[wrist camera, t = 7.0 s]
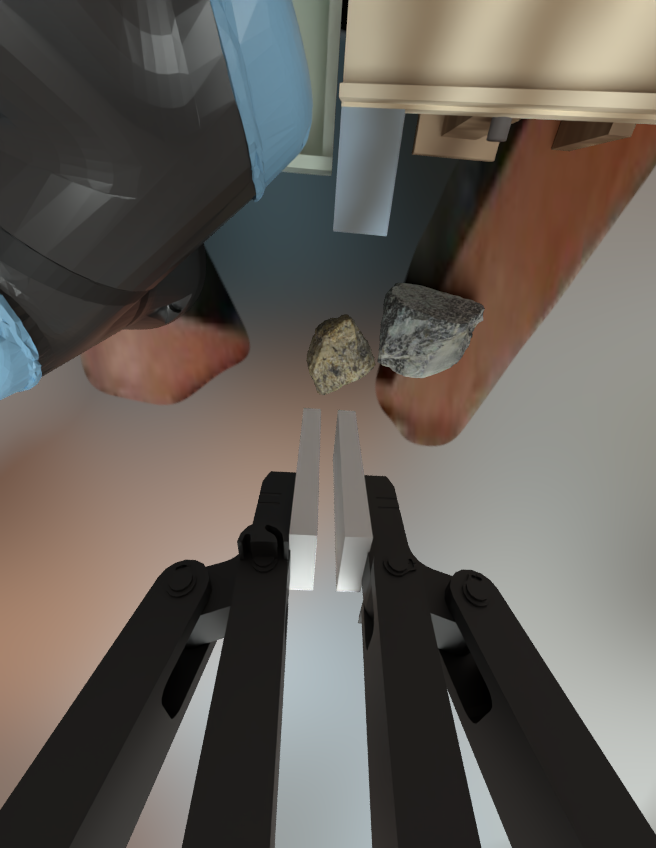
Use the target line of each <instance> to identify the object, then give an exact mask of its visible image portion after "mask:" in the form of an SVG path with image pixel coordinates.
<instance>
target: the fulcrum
mask: <svg viewBox="0 0 656 848" xmlns="http://www.w3.org/2000/svg"><path fill="white" fill-rule="evenodd" d="M491 120H492V117H481V116H458V115H436V114H418V121H417V126H416V133H415V138H414V144H413V151H412V154H413V155H423V156H433V157H445V158H455V159H465V160H476V161H487V162H491V161H494V159H495V156H496V152H497V149H498V145H499V142H490V141H487V140H486V139H487V135H488V131H489V127H490V123H491ZM519 120H520V118H512V121H511V124H512V123H515V122H517V121H519ZM635 126H636V123H614V122H592V121H570V120H561V123H560V126H559V129H558V132H557V135H556V138H555V140H554V143H553V146H552V149H553V150H563V151H572V150H576V149H580V148H584V147H589V146H593V145H597V144H602V143H606V142H610V141H614V140H619V139H623V138H627V137H631V135H632V132H633V130H634V128H635Z"/></svg>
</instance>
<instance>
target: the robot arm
mask: <svg viewBox="0 0 656 848" xmlns="http://www.w3.org/2000/svg"><path fill="white" fill-rule="evenodd" d="M312 108H313V97H312V88H311V81H310V74H309V69H308V63H307V59H306V54H305V50H304V45H303V41H302V37H301V33H300V29H299V24H298V21H297V17H296V13H295V9H294V5H293V2H292V0H0V400H1V399H3V398H5V397H7V396H9V395H12V394H14V393H16V392H20V391H24V390H29V389H31V388H32V387H34V386H35V385H37V383H38V382H39V380H40V378H41V377H42V376H44V375H46V374H47V373H49V372H51V371H53V370H54V369H56V368H58V367H59V366H61V365H63V364H65V363H66V362H68V361H70V360H71V359H73V358H75V357H76V356H78V355H80V354H82V353H83V352H85V351H87V350H88V349H90V348H92V347H93V346H95V345H97V344H99V343H100V342H102V341H104V340H105V339H107V338H109V337H110V336H112V335H114V334H116V333H117V332H119V331H121V330H122V329H153V328H158V327H161V326H164V325H167V324H169V323H171V322H173V321H175V320H176V319H178V318H179V317H180V316H182V315H183V314H184V313H186V312H187V311H188V310H189V309H190V308H191V307H192V306H193V305H194V303H195V302H196V301H197V299H198V297H199V295H200V293H201V291H202V288H203V285H204V281H205V275H206V254H205V248H204V242H205V241H206V240H207V239H208V238H209V237H210V236H212V235H213V234H214V233H215V232H216V231H217V230H218V229H219V228H220V227H221V226H223V225H224V224H225V223H226V222H227V221H228V220H229V219H230V218H232V217H233V216H234V215H235V214H236V213H237V212H238V211H239V210H240V209H242V208H243V207H244V206H245V205H246V204H247V203H248V202H249V201H250V200H251V199H253V201H254V202H257V201H258V200H260V199H261V197H262V196H263V194H264V190H265V187H266V186H267V185H268V184H269V183H270V182H271V181H272V180H273V179H274V178H275V177H276V176H277V175H278V174H279V173H280V172H282V171H283V170H284V169H285V168H286V167H287V166H288V165H289V164H290V163H291V162H292V161H293V160H294V159H295V158H296V157H297V156H298V154H299V153H300V152H301V151H302V149H303V147H304V146H305V144H306V142H307V140H308V136H309V132H310V127H311V123H312ZM320 427H321V409H311V408H304V411H303V419H302V428H301V436H300V445H299V454H298V463H297V472H296V473H293V472H291V473H290V472H273V471H271V472H270V473H269V474H268V475H267V477H266V478H265V479H264V480H263V482H262V486H261V491H260V495H259V499H258V504H257V508H256V512H255V516H254V521H253V524H252V525H250V526H248V527H247V528H246V529H245V530H244V531H243V532H242V533H241V534H240V536H239V538H238V541H237V543H238V550H239V554H238V555H237V556H236V557H234V558H232V559H231V560H228V561H225V562H222V563H219V564H215V565H211V566H207V567H205V566H204V564H203V563H200V562H198V561H196V560H184V561H180V562H177V563H175V564H173V565H171V566H170V567H168V568H167V569H165V570H164V571H163V573H162V574H161V575H160V576H159V577H158V578H157V580H156V581H155V583H154V584H153V586H152V587H151V589H150V590H149V591H148V593H147V594H146V596H145V597H144V599H143V600H142V602H141V603H140V605H139V606H138V608H137V609H136V611H135V612H134V614H133V615H132V617H131V618H130V619H129V621H128V623H127V624H126V626H125V627H124V628H123V630H122V631H121V633H120V634H119V636H118V637H117V639H116V640H115V642H114V643H113V645H112V646H111V648H110V649H109V650H108V652H107V654H106V655H105V656H104V658H103V659H102V661H101V662H100V664H99V665H98V667H97V668H96V670H95V671H94V673H93V674H92V676H91V677H90V678H89V680H88V682H87V683H86V684H85V686H84V687H83V689H82V690H81V692H80V693H79V695H78V696H77V698H76V699H75V701H74V702H73V704H72V705H71V706H70V708H69V709H68V711H67V713H66V714H65V715H64V717H63V719H62V720H61V721H60V723H59V724H58V726H57V727H56V729H55V730H54V732H53V733H52V734H51V736H50V738H49V739H48V741H47V742H46V743H45V745H44V746H43V748H42V749H41V751H40V752H39V754H38V755H37V757H36V758H35V760H34V761H33V763H32V764H31V765H30V767H29V768H28V770H27V771H26V773H25V774H24V776H23V777H22V779H21V780H20V782H19V783H18V785H17V786H16V788H15V789H14V791H13V792H12V793H11V795H10V796H9V798H8V799H7V801H6V803H5V804H4V805H3V807H2V808H1V810H0V848H126V846H127V844H128V842H129V840H130V837H131V835H132V833H133V830H134V828H135V826H136V824H137V821H138V819H139V817H140V814H141V812H142V810H143V808H144V805H145V803H146V801H147V798H148V796H149V794H150V792H151V789H152V787H153V785H154V783H155V780H156V778H157V776H158V774H159V771H160V769H161V767H162V764H163V762H164V760H165V758H166V755H167V753H168V751H169V749H170V746H171V744H172V742H173V739H174V737H175V735H176V733H177V730H178V728H179V726H180V723H181V721H182V719H183V717H184V714H185V712H186V710H187V708H188V705H189V703H190V701H191V698H192V696H193V694H194V692H195V689H196V687H197V685H198V682H199V680H200V678H201V676H202V673H203V671H204V669H205V667H206V664H207V662H208V660H209V657H210V655H211V653H212V650H213V648H214V646H215V644H216V642H217V640H218V639H221V638H224V641H223V646H222V651H221V656H220V661H219V666H218V671H217V676H216V681H215V686H214V691H213V696H212V701H211V705H210V710H209V715H208V720H207V726H206V730H205V735H204V740H203V745H202V750H201V755H200V760H199V765H198V770H197V775H196V780H195V785H194V790H193V795H192V800H191V805H190V810H189V815H188V820H187V825H186V829H185V835H184V840H183V844H182V848H275V830H276V812H277V795H278V777H279V760H280V742H281V725H282V706H283V688H284V672H285V655H286V637H287V619H288V596H289V590H291V589H292V590H313V581H314V570H315V558H316V545H317V531H318V529H317V528H318V497H319V496H318V495H319V462H320V461H319V460H320ZM333 472H334V511H335V512H334V513H335V550H336V551H335V553H336V591H345V592H360V591H361V586H362V590H363V603H362V607H361V611H360V615H359V621H358V623H362V636H363V659H364V677H365V678H364V681H365V702H366V723H367V745H368V766H369V788H370V810H371V830H372V848H481V844H480V839H479V835H478V830H477V825H476V821H475V816H474V812H473V807H472V802H471V798H470V793H469V789H468V784H467V779H466V775H465V770H464V766H463V761H462V756H461V752H460V747H459V742H458V739H457V733H456V729H455V724H454V720H453V715H452V710H451V706H450V701H449V696H448V692H449V694H450V697H451V699H452V702H453V704H454V706H455V709H456V712H457V714H458V716H459V719H460V721H461V724H462V726H463V729H464V731H465V733H466V736H467V738H468V741H469V743H470V746H471V748H472V751H473V753H474V756H475V758H476V760H477V763H478V765H479V768H480V770H481V773H482V775H483V778H484V780H485V783H486V785H487V787H488V790H489V792H490V795H491V797H492V799H493V802H494V805H495V807H496V809H497V812H498V814H499V817H500V819H501V821H502V824H503V827H504V829H505V832H506V834H507V836H508V839H509V841H510V844H511V846H512V848H656V834H655V833H654V831H653V830H652V828H651V827H650V825H649V823H648V822H647V820H646V819H645V817H644V816H643V814H642V813H641V811H640V810H639V808H638V806H637V805H636V803H635V802H634V800H633V799H632V797H631V795H630V794H629V792H628V791H627V789H626V788H625V786H624V785H623V783H622V782H621V780H620V778H619V777H618V775H617V774H616V772H615V771H614V769H613V767H612V766H611V764H610V763H609V762H608V760H607V759H606V757H605V755H604V754H603V752H602V750H601V749H600V747H599V746H598V744H597V743H596V741H595V740H594V738H593V737H592V735H591V733H590V732H589V731H588V729H587V727H586V726H585V724H584V723H583V721H582V719H581V718H580V717H579V715H578V713H577V712H576V710H575V708H574V707H573V705H572V704H571V702H570V701H569V699H568V698H567V696H566V694H565V693H564V691H563V690H562V688H561V687H560V685H559V684H558V682H557V680H556V679H555V678H554V676H553V674H552V673H551V671H550V670H549V668H548V667H547V665H546V663H545V662H544V661H543V659H542V657H541V656H540V654H539V652H538V651H537V649H536V648H535V646H534V645H533V643H532V642H531V640H530V639H529V637H528V636H527V634H526V632H525V631H524V629H523V628H522V626H521V625H520V623H519V621H518V620H517V618H516V617H515V615H514V614H513V612H512V611H511V609H510V608H509V606H508V604H507V603H506V601H505V600H504V598H503V597H502V595H501V593H500V592H499V590H498V589H497V588H496V587H495V585H494V584H493V583H492V582H491V581H490V580H489V579H488V578H486V577H485V576H484V575H482V574H481V573H478V572H475V571H473V570H460V571H458V572H456V573H455V574H454V575H453V576H450V575H448V574H445V573H442V572H439V571H436V570H433V569H431V568H429V567H427V566H425V565H424V564H422V563H421V562H419V561H418V560H417V558H416V557H415V556H414V555H413V554H412V552H411V551H410V548H409V546H408V542H407V538H406V534H405V530H404V525H403V522H402V517H401V513H400V510H399V505H398V501H397V497H396V493H395V488H394V486H393V485H392V483H391V482H390V481H389V479H388V478H387V477H386V476H367V475H364V471H363V464H362V457H361V449H360V442H359V435H358V428H357V420H356V414H355V411H345V410H338V416H337V426H336V435H335V445H334V454H333ZM447 689H448V692H447Z"/></svg>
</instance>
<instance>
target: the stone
mask: <svg viewBox="0 0 656 848" xmlns="http://www.w3.org/2000/svg"><path fill="white" fill-rule="evenodd" d="M484 309H485V308H484V307H483V305H481V304H480V303H477V302H474V301H473V300H470V299H463V298H461V297H460V296H455V295H450V294H448V293H445V292H441V291H437V290H434V289H431V288H428V287H424V286H421V285H414V284H407V283H397V284H395V285H394V287H392V288H391V289H390V290H389V291H388V293H387V294H386V297H385V300H384V315H383V318H382V322H381V330H380V332H381V333H380V348H379V355H378V356H379V357H378V363H381V364H382V365H384V366H387V367H390V368H391V369H392V370H393V371H395V372H396V373H398V374H400V375H403V376H407V377H413V378H425V377H427V376H431V375H433V374H437V373H439V372H441V371H444V370H446V369H448V368H450V367H452V366H453V365H454V364H456V363H457V362H458V361H459V360H460V359H461V357H462V356H463V354H464V351H465V350H466V349H467V347H468V346H469V344H470V339H471V337H472V332H473V331H474V328H475V326H476V325H477V324H478V323H479V322H481V321H483V311H484Z"/></svg>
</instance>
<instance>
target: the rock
mask: <svg viewBox="0 0 656 848" xmlns="http://www.w3.org/2000/svg"><path fill="white" fill-rule="evenodd" d="M307 363H308V369H309V373H310V375H311V377H312V379H313V380H314V384H315V386H316V389H317V392H318V393H319V394H322V395H325V394H327V393H331V392H332V391H336V390H337V389H339V388H341V387H342V386H343V385H347V384H349V383H351V382H353V381H356V380H359V379H360V378H362V377H364V376H365V375H366V374H367V373H368V372H369V371H370V370H372V369H373V367H374V365H375V361H374V357H373V354H372V352H371V349H370V346H369V344H368V341H367V340H366V339H365V338H364V337H363V334H362V333H361V332H360V331H359V329H358V327H357V326H356V324H355V322H354V321H353V319H352V318H351V317H349V315H342V316H340V317H339V318H330V319H328V320H325V321H324V322H323V323H321V324H320V325H319V326H318V327H317V328H316V330H315V335H314V336H313V338H312V341H311V344H310V347H309V351H308V354H307Z"/></svg>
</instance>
